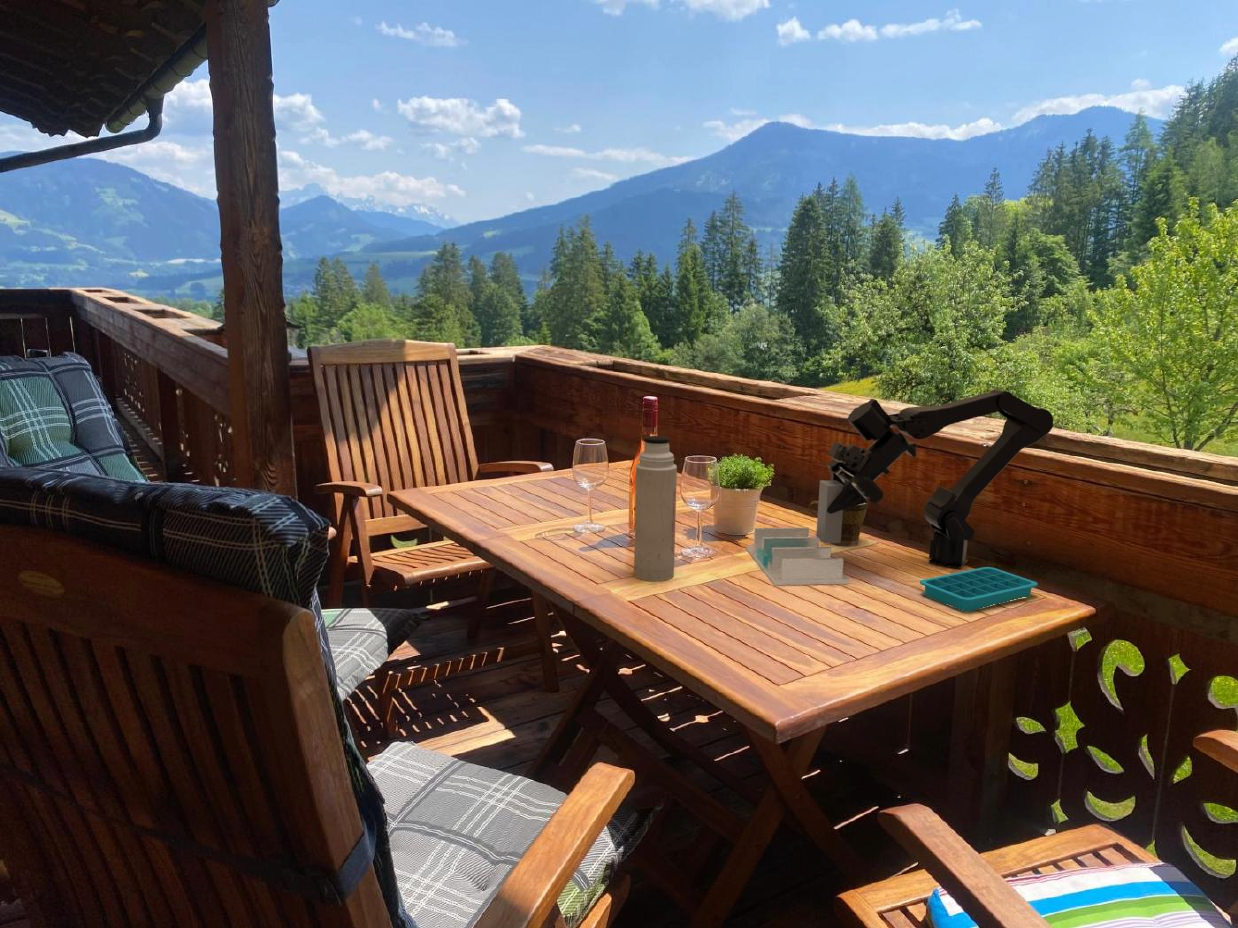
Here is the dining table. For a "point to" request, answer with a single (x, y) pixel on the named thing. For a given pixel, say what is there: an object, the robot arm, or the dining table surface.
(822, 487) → the tall gray rectangular box
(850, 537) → the ceramic cup
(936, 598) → the ice cube tray
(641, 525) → the thermos bottle
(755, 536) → the tray
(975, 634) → the dining table surface
